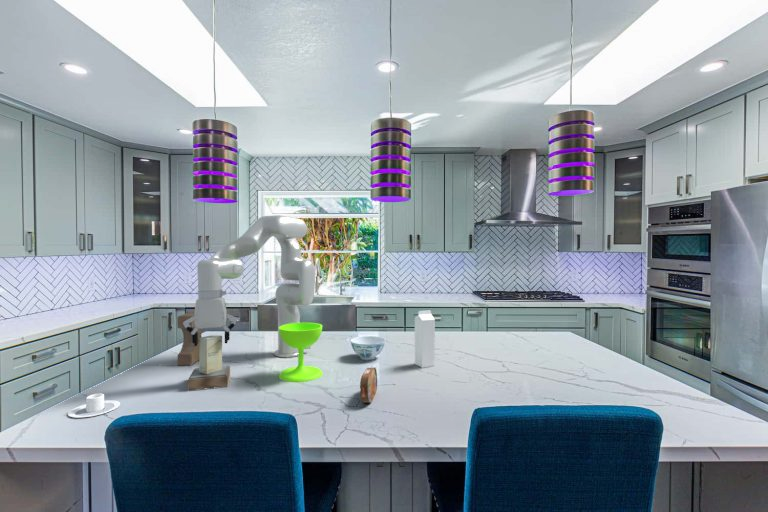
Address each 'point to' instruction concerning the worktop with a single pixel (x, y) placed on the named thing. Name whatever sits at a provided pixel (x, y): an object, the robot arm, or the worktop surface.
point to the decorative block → (188, 342)
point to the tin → (368, 385)
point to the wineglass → (300, 349)
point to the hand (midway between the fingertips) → (211, 343)
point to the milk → (424, 339)
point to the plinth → (209, 379)
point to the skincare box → (210, 354)
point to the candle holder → (94, 405)
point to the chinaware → (368, 346)
